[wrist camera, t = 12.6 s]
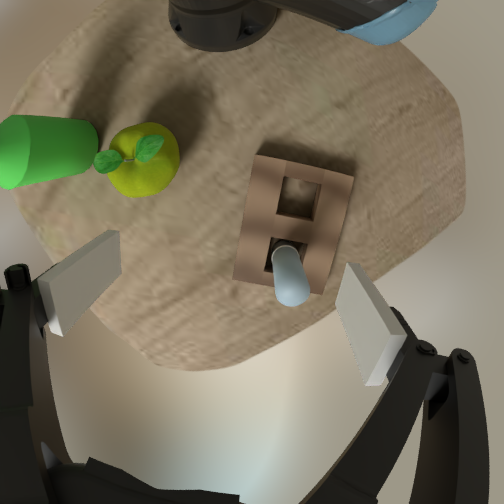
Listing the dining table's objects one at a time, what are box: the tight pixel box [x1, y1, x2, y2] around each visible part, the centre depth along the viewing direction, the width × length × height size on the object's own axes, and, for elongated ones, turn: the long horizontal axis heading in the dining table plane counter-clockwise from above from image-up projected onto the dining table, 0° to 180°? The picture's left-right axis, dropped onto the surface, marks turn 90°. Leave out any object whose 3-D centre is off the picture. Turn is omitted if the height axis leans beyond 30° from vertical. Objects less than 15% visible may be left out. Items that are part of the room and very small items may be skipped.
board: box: [232, 154, 354, 295], centre depth 37 cm, size 17×13×2 cm
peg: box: [271, 240, 310, 306], centre depth 34 cm, size 4×4×12 cm
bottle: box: [0, 115, 98, 190], centre depth 23 cm, size 9×9×25 cm
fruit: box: [93, 122, 180, 198], centre depth 31 cm, size 9×9×10 cm
